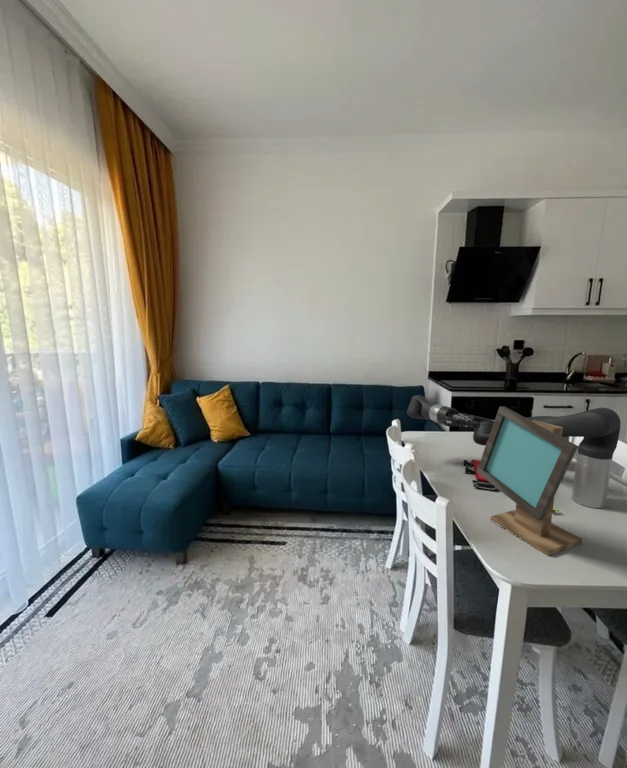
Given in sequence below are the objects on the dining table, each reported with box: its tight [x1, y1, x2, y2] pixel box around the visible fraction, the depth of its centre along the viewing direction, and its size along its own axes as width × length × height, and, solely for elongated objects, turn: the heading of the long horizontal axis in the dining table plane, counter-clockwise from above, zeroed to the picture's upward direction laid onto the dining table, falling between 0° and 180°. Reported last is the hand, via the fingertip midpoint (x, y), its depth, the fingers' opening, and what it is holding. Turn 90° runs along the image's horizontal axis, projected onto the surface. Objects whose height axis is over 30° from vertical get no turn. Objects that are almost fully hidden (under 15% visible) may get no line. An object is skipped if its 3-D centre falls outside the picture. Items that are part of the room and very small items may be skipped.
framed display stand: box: [489, 420, 583, 557], centre depth 98 cm, size 14×18×33 cm
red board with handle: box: [463, 459, 500, 492], centre depth 140 cm, size 30×3×15 cm
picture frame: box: [477, 405, 579, 521], centre depth 98 cm, size 2×22×24 cm, turn 22°
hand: (478, 425), depth 122 cm, fingers closed
